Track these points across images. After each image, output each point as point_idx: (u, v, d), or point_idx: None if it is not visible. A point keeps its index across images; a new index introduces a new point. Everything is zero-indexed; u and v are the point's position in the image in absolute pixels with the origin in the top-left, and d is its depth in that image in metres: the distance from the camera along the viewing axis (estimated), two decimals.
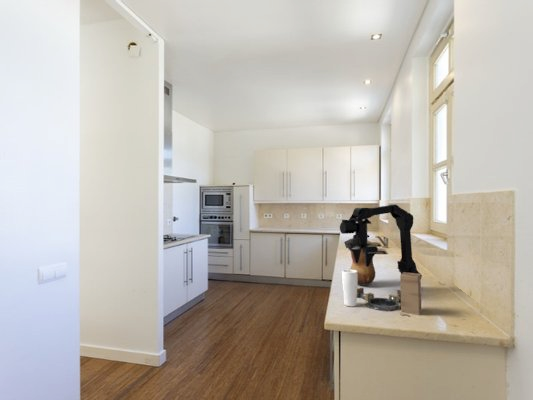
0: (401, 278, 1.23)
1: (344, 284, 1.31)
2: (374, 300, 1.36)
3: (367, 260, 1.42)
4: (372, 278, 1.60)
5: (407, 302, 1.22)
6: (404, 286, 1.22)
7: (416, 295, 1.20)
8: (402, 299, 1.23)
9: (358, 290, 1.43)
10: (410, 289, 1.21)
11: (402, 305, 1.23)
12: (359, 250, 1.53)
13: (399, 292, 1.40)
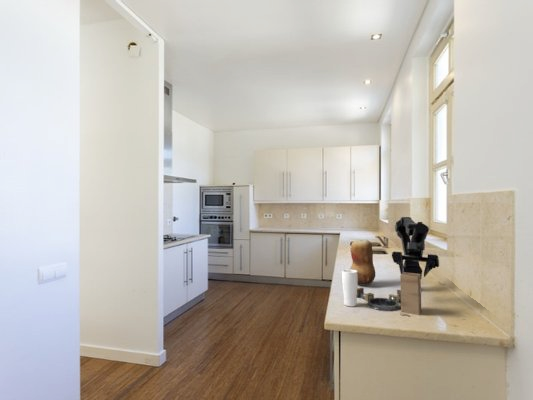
0: (401, 278, 1.23)
1: (344, 284, 1.31)
2: (374, 300, 1.36)
3: (427, 269, 1.29)
4: (372, 278, 1.60)
5: (407, 302, 1.22)
6: (404, 286, 1.22)
7: (416, 295, 1.20)
8: (402, 299, 1.23)
9: (358, 290, 1.43)
10: (410, 289, 1.21)
11: (402, 305, 1.23)
12: (402, 264, 1.38)
13: (399, 292, 1.40)
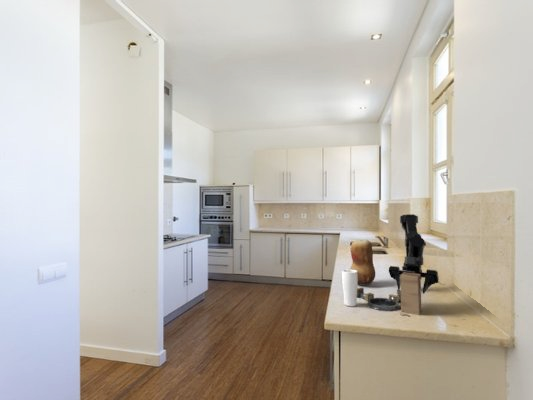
0: (401, 278, 1.23)
1: (344, 284, 1.31)
2: (374, 300, 1.36)
3: (426, 286, 1.22)
4: (372, 278, 1.60)
5: (407, 302, 1.22)
6: (404, 286, 1.22)
7: (416, 295, 1.20)
8: (402, 299, 1.23)
9: (358, 290, 1.43)
10: (410, 289, 1.21)
11: (402, 305, 1.23)
12: None
13: (399, 292, 1.40)
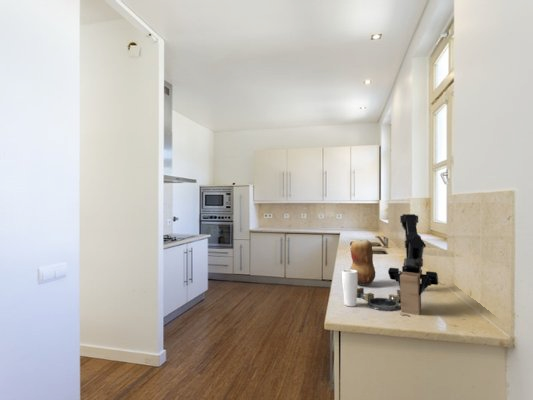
0: (401, 278, 1.22)
1: (344, 284, 1.31)
2: (374, 300, 1.36)
3: (423, 287, 1.22)
4: (372, 278, 1.60)
5: (407, 302, 1.22)
6: (404, 286, 1.22)
7: (416, 295, 1.19)
8: (402, 299, 1.23)
9: (358, 290, 1.43)
10: (409, 289, 1.21)
11: (402, 305, 1.23)
12: None
13: (399, 292, 1.40)
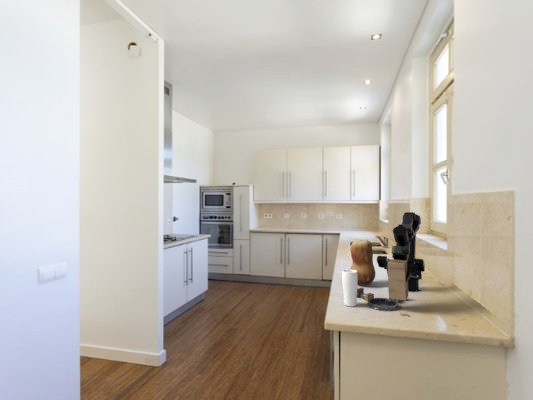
0: (388, 265, 1.25)
1: (344, 284, 1.31)
2: (374, 300, 1.36)
3: (409, 274, 1.25)
4: (372, 278, 1.60)
5: (394, 288, 1.25)
6: (391, 273, 1.25)
7: (403, 281, 1.23)
8: (389, 286, 1.26)
9: (358, 290, 1.43)
10: (397, 275, 1.24)
11: (389, 291, 1.26)
12: None
13: None
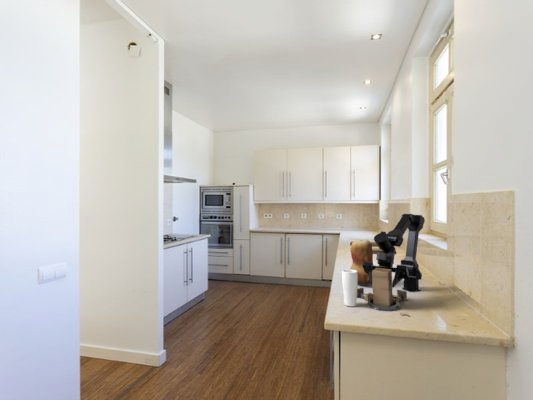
0: (373, 274, 1.30)
1: (344, 284, 1.31)
2: None
3: (396, 280, 1.28)
4: None
5: (378, 296, 1.29)
6: (375, 281, 1.29)
7: (386, 290, 1.27)
8: (374, 293, 1.30)
9: (358, 290, 1.43)
10: (381, 284, 1.28)
11: (374, 299, 1.30)
12: None
13: (399, 292, 1.40)
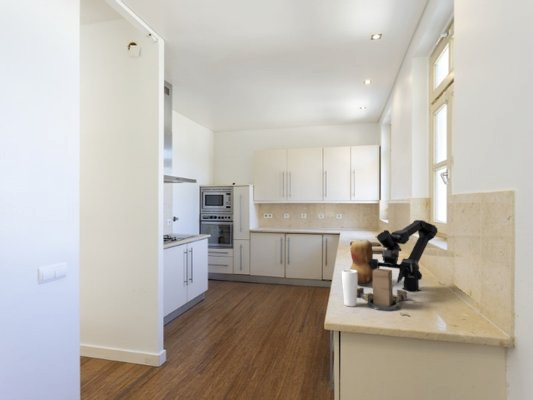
0: (373, 273, 1.30)
1: (344, 284, 1.31)
2: None
3: (401, 276, 1.35)
4: (372, 278, 1.60)
5: (378, 296, 1.29)
6: (376, 281, 1.30)
7: (387, 289, 1.27)
8: (374, 293, 1.30)
9: (358, 290, 1.43)
10: (381, 283, 1.28)
11: (374, 299, 1.30)
12: None
13: (399, 292, 1.40)
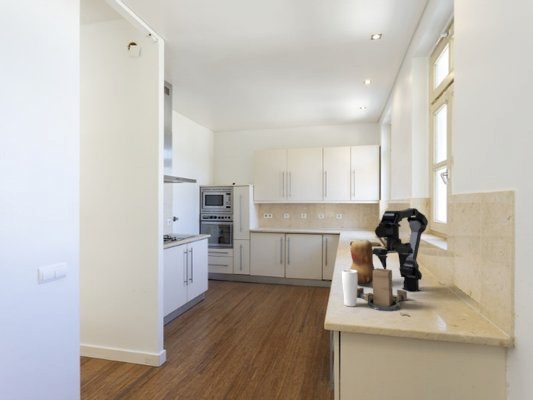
0: (373, 273, 1.30)
1: (344, 284, 1.31)
2: None
3: None
4: (372, 278, 1.60)
5: (378, 296, 1.29)
6: (376, 281, 1.30)
7: (387, 289, 1.27)
8: (374, 293, 1.30)
9: (358, 290, 1.43)
10: (381, 283, 1.28)
11: (374, 299, 1.30)
12: None
13: (399, 292, 1.40)
